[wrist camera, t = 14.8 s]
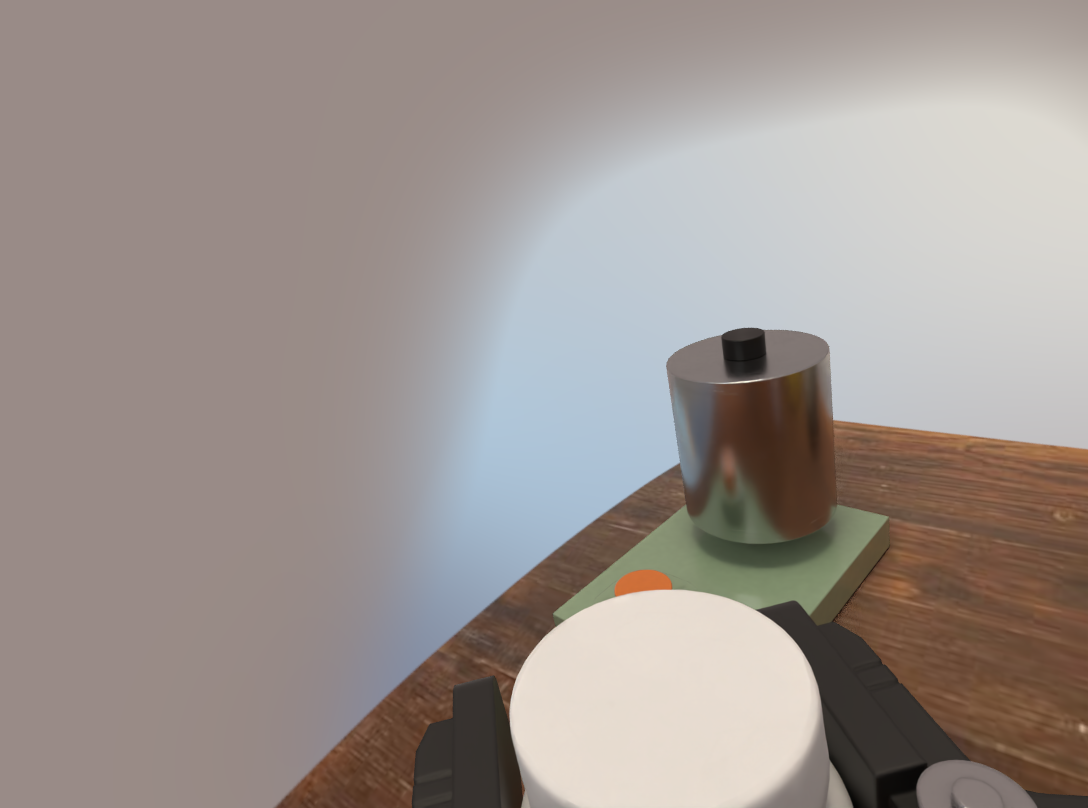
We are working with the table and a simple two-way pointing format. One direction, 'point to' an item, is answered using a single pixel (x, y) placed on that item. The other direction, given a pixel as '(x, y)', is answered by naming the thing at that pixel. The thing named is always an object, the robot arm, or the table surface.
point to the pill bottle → (671, 710)
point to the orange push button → (642, 582)
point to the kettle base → (754, 565)
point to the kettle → (755, 434)
